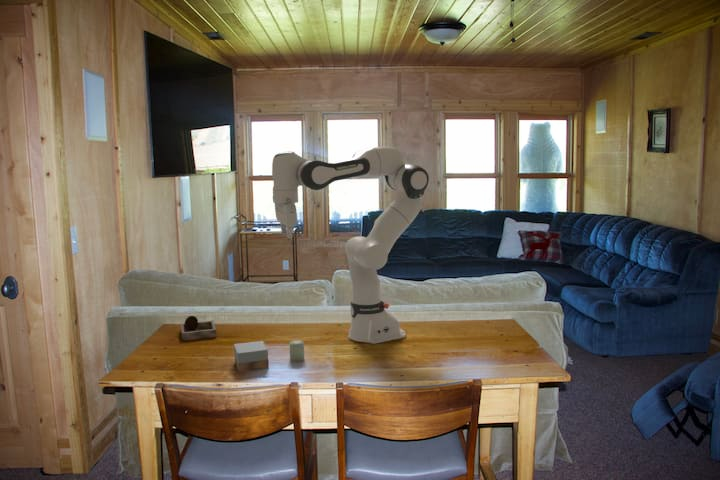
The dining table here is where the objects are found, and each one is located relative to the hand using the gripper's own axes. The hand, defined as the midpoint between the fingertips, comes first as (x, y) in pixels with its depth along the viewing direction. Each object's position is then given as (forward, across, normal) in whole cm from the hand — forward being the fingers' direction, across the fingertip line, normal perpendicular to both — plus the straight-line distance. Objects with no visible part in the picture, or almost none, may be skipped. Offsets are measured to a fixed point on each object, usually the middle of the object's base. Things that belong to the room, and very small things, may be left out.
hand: (287, 236), depth 207 cm
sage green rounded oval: (+42, -11, 0) cm, 44 cm away
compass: (+42, +31, +31) cm, 61 cm away
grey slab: (+39, -11, +16) cm, 44 cm away
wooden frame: (+42, +31, +32) cm, 61 cm away
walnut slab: (+43, -11, +16) cm, 47 cm away
